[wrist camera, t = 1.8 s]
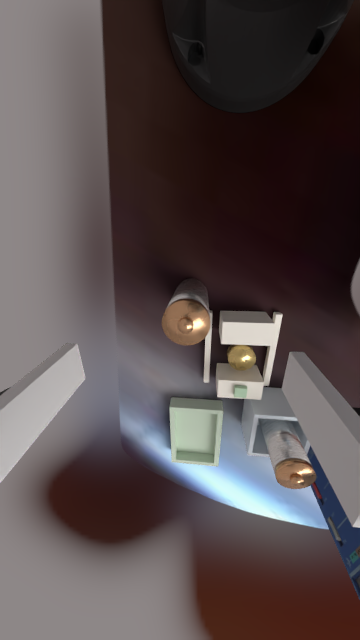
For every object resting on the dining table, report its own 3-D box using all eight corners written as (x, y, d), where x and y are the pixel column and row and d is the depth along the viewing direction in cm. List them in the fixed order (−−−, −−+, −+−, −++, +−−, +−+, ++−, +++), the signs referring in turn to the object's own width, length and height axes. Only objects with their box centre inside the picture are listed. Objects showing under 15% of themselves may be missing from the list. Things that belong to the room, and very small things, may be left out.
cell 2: (257, 398, 32) (281, 468, 23) (286, 400, 32) (323, 473, 22) (254, 419, 34) (275, 492, 24) (281, 421, 34) (313, 496, 24)
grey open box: (246, 386, 32) (254, 414, 27) (300, 389, 32) (319, 419, 26) (241, 423, 36) (247, 455, 30) (290, 427, 35) (305, 460, 30)
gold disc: (227, 341, 28) (229, 347, 27) (254, 342, 28) (257, 348, 26) (226, 363, 30) (227, 369, 28) (251, 364, 29) (254, 371, 28)
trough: (171, 397, 35) (169, 407, 33) (222, 400, 34) (223, 410, 32) (173, 450, 40) (171, 461, 38) (217, 454, 39) (218, 466, 37)
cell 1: (175, 278, 27) (159, 302, 17) (208, 278, 27) (211, 303, 17) (175, 309, 29) (161, 347, 19) (207, 310, 28) (209, 349, 19)
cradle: (206, 310, 28) (207, 323, 24) (279, 312, 27) (294, 326, 23) (203, 378, 33) (203, 399, 28) (266, 381, 32) (276, 404, 28)
